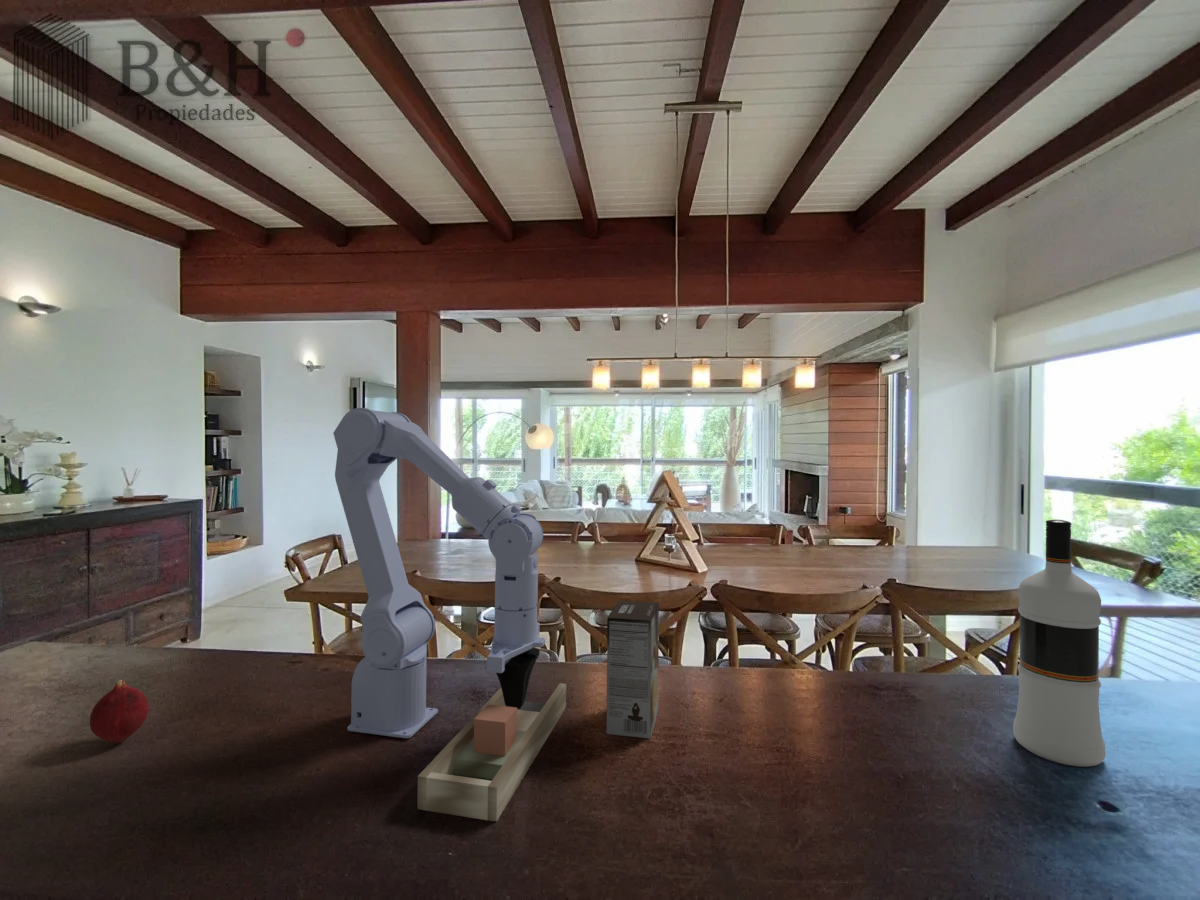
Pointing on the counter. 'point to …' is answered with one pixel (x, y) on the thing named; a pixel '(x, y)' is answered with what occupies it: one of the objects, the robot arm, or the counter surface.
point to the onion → (119, 713)
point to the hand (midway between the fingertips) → (514, 706)
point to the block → (495, 730)
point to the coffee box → (632, 668)
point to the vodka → (1059, 660)
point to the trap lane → (487, 764)
